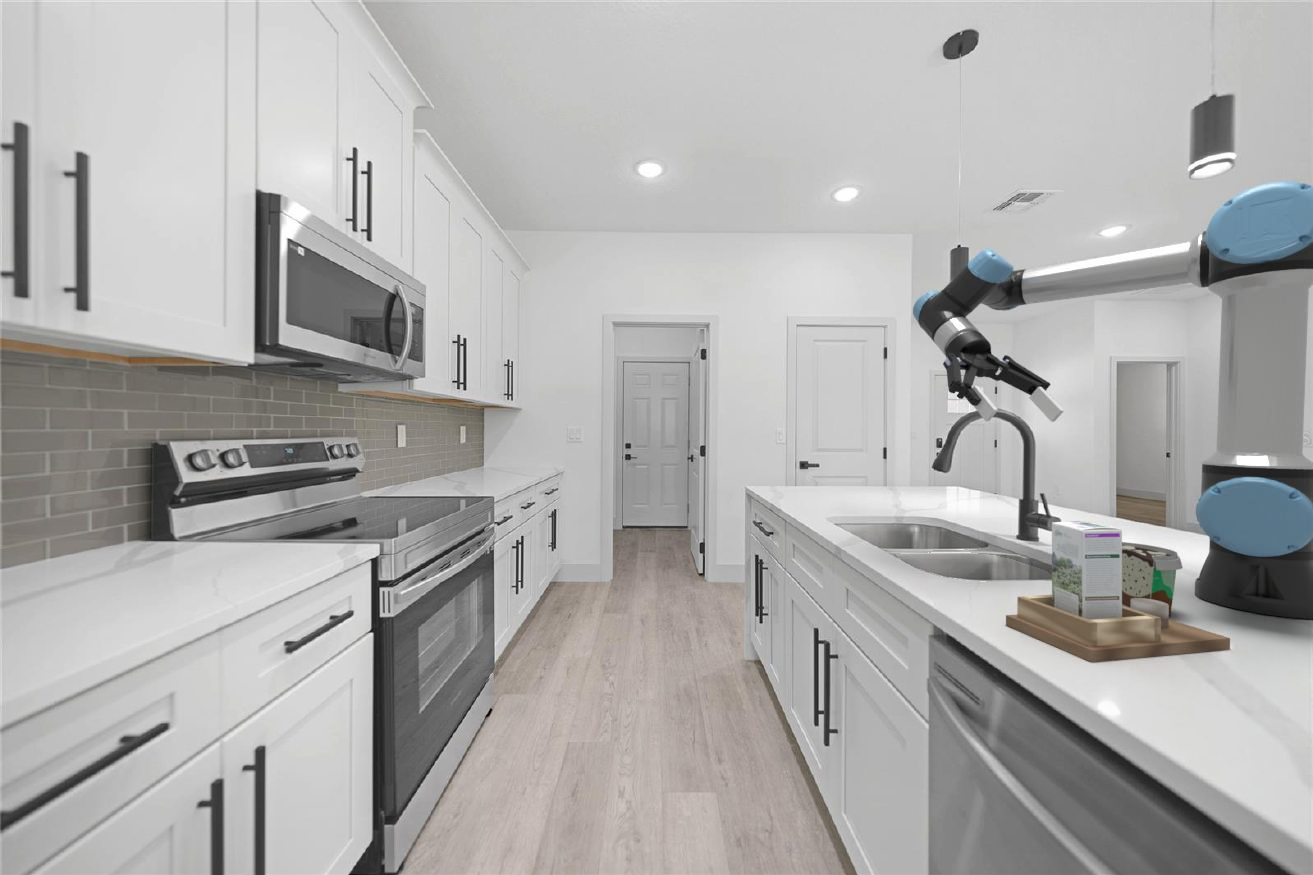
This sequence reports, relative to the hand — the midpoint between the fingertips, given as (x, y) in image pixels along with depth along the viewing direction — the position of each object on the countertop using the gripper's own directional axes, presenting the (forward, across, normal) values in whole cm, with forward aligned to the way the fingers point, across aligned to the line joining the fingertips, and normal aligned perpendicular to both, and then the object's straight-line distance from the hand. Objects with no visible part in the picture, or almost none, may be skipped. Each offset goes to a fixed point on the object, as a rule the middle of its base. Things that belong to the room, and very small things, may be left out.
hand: (1025, 416), depth 95 cm
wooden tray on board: (+36, +5, -9) cm, 37 cm away
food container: (+30, -13, -15) cm, 36 cm away
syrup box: (+35, +9, -8) cm, 37 cm away
